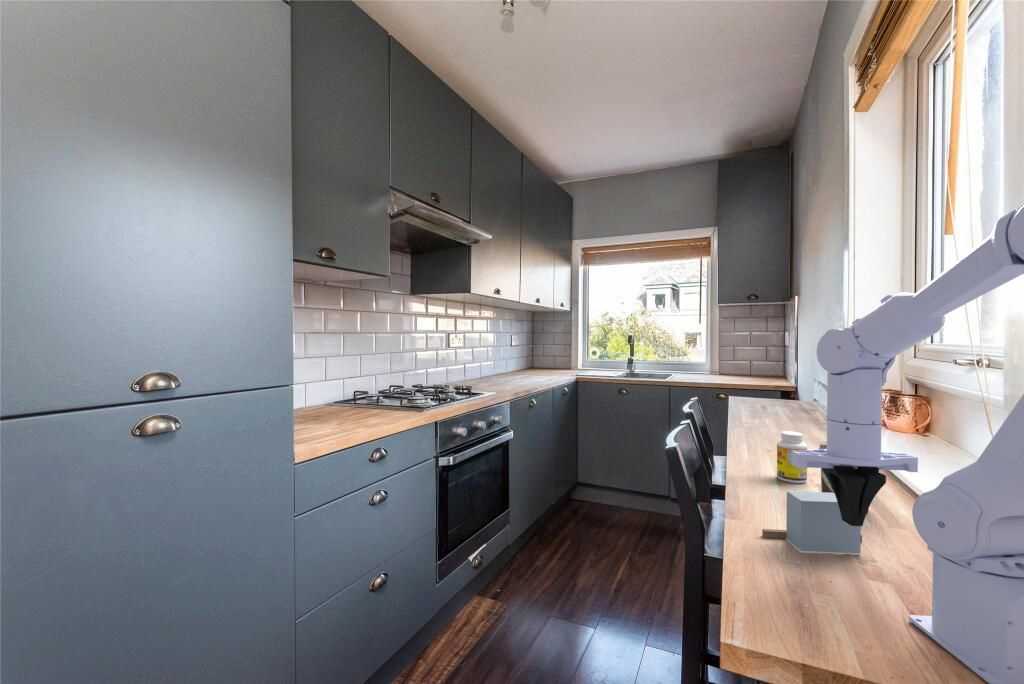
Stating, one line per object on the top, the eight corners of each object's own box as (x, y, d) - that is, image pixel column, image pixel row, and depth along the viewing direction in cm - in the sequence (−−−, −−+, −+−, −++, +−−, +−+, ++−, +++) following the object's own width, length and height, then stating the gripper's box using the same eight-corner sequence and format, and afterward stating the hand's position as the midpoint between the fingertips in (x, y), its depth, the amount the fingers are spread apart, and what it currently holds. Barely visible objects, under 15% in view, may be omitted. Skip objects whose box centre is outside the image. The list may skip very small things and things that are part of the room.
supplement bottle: (775, 474, 100) (776, 429, 100) (805, 478, 97) (805, 431, 97) (777, 481, 95) (777, 434, 95) (808, 485, 92) (809, 436, 92)
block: (860, 555, 63) (861, 502, 63) (800, 552, 64) (801, 500, 64) (842, 542, 67) (842, 493, 67) (786, 540, 68) (786, 491, 68)
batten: (862, 541, 67) (862, 535, 67) (764, 537, 68) (764, 531, 68) (858, 539, 68) (858, 533, 68) (762, 535, 69) (762, 529, 69)
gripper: (889, 416, 62) (888, 513, 62) (780, 414, 63) (779, 509, 63) (932, 426, 55) (930, 535, 55) (808, 424, 56) (807, 530, 56)
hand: (852, 523), depth 59 cm, fingers closed
